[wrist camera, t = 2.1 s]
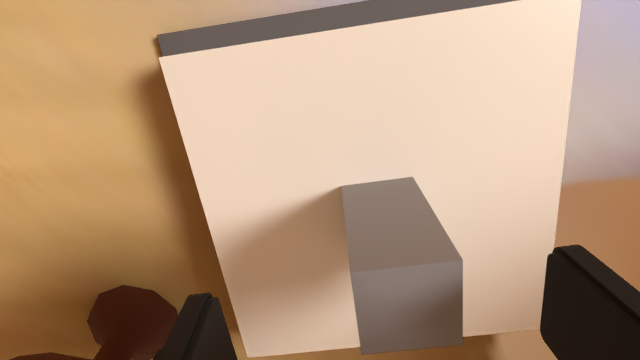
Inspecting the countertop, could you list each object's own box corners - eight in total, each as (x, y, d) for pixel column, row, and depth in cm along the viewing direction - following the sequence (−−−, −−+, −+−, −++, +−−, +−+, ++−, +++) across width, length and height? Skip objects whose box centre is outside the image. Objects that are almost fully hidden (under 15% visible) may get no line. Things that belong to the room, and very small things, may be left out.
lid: (542, -4, 15) (787, -43, 7) (520, 295, 20) (642, 460, 13) (183, 53, 16) (41, 74, 8) (256, 322, 21) (215, 490, 14)
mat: (561, -31, 15) (567, -32, 14) (531, 301, 21) (535, 306, 21) (160, 34, 16) (156, 35, 16) (245, 330, 22) (244, 335, 22)
